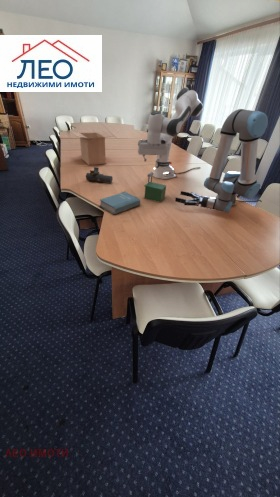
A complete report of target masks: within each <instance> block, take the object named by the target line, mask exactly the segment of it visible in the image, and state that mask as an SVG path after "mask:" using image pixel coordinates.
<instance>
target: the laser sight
mask: <svg viewBox="0 0 280 497" xmlns="http://www.w3.org/2000/svg"><path fill="white" fill-rule="evenodd" d="M85 179H86V180H87V181H90V182H97V183H107V184H108V183H109V184H112V183H113V175H106V174H104V173H100V171H99V167H95V166H94V167H93V170H91V169H90V170H89V172H86V174H85Z"/></svg>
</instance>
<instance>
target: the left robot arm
mask: <svg viewBox="0 0 280 497" xmlns="http://www.w3.org/2000/svg"><path fill="white" fill-rule="evenodd" d="M203 109H204V105H203V103H202V102H201V100H200V99H199V96H198V93H197V91H195V90H194V89H188V88H187V87H183V88H181V89H180V90H179V91H178V92H177V95H176V100H175V103H174V111H175V112H174V114H173V115H172V116H171V117H167V116H165V115H163V112H162V111H160V110H154V111H153V110H152V111H151V112H150V113H149V117H148V122H147V130H148V131H147V135H146V139H143V138H142V139H139V140H138V141H137V146H138V147H137V154H138V155H139V156H142V157H143V162H144V163H145V162H147V158H146V156H156V159H155V165H154V167H153V170H154V171H153V173H154V174H153V175H152V177H154V178H156V179H162V180H169V179H173V178H177V175H180V174H184V173H187V172H190V171H192V170H195V169H201V167H200V166H199V167H193V168H190V169H188V170H186V171H182V172H177V173H176V172H175V169H174V168H173V167H172V166H171V165H172V164H173V162H172V161H169V158H170V152H171V147H172V142H173V139H174V137H177V136H178V135H179V134H180V132H181V130H182V129H183V127H184V125H185V124H186V122H187V121H188V120H189V118H197V117H198V116H199V115H201V113H202V112H203Z"/></svg>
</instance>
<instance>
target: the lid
mask: <svg viewBox="0 0 280 497" xmlns="http://www.w3.org/2000/svg"><path fill="white" fill-rule="evenodd" d="M153 174H154V171H151V172H149V173H148V174H147V177H148V178H147V182H146V184H144V185H143V187H144V188H145V187H149V188H153V189H157V190H163V189H164V188H165V187H166V188H167V184H162V183H157V182H153Z"/></svg>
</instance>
